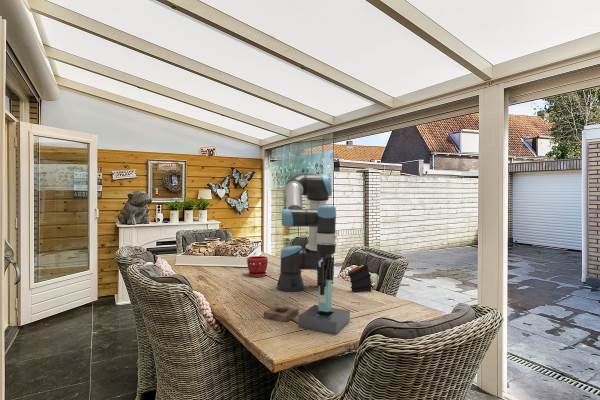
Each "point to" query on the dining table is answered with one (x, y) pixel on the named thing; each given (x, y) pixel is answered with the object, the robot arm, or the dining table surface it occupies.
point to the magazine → (360, 278)
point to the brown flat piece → (281, 313)
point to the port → (324, 319)
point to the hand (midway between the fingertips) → (325, 300)
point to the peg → (326, 306)
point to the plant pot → (257, 266)
